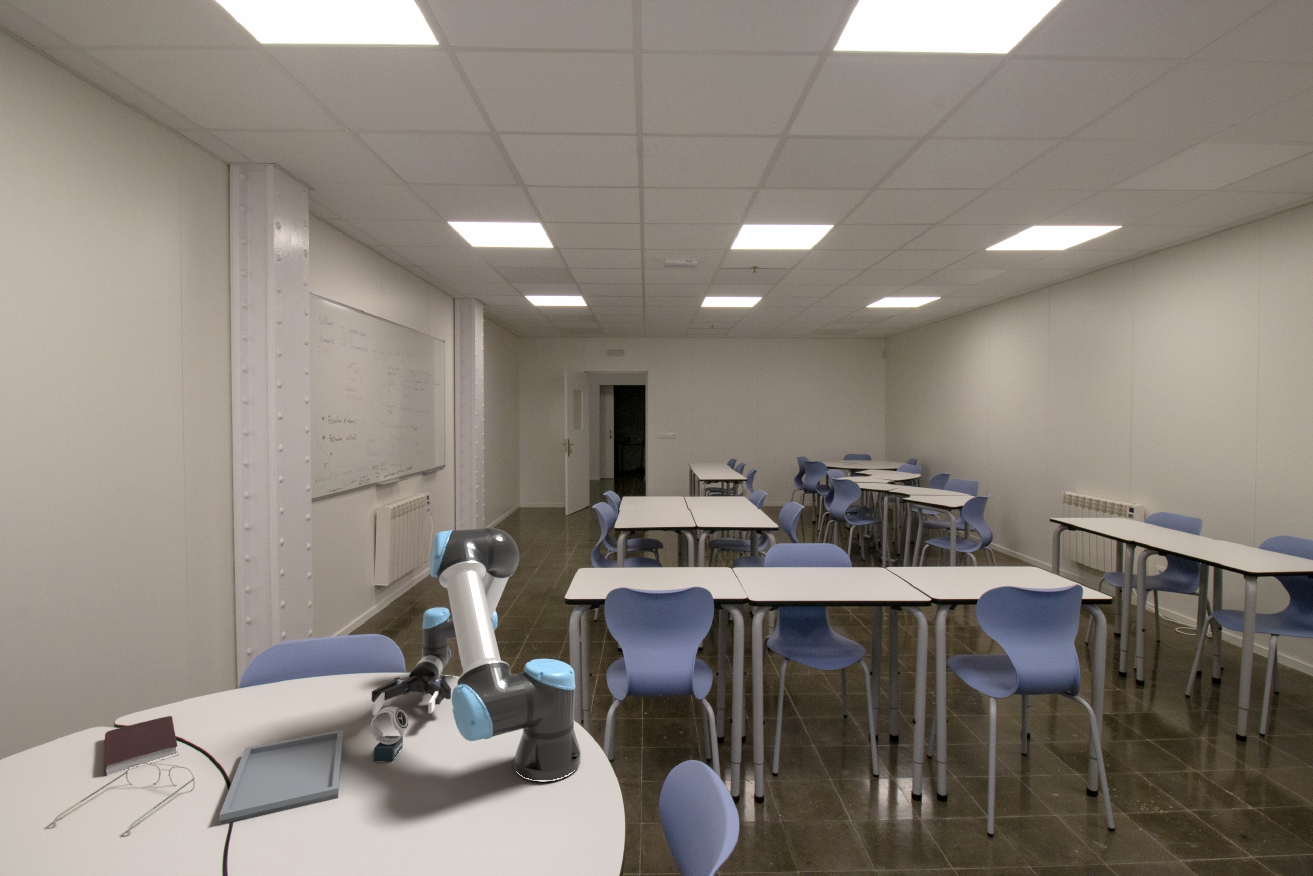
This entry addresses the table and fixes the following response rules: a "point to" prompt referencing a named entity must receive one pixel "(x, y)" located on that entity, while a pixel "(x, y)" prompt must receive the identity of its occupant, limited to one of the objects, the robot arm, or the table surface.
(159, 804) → the eyeglasses
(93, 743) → the table surface
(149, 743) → the book
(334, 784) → the tray
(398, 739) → the watch
